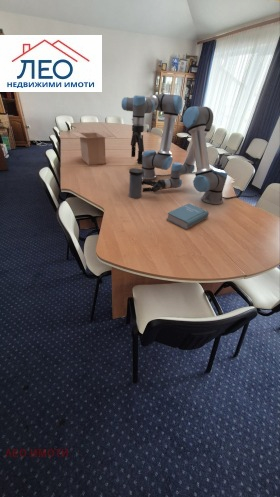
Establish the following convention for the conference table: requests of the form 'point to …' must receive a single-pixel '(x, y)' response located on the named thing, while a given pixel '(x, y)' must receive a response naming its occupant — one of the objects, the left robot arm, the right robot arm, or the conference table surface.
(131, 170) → the lid
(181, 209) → the book
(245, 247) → the conference table surface
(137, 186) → the jar
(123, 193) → the conference table surface
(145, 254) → the conference table surface
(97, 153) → the box
